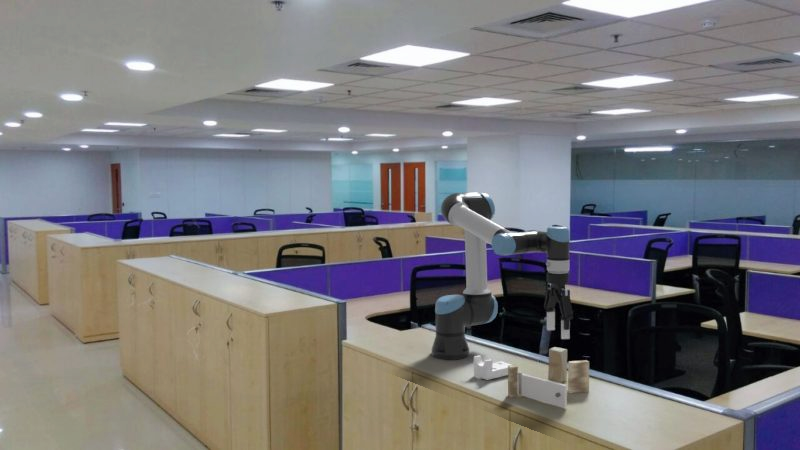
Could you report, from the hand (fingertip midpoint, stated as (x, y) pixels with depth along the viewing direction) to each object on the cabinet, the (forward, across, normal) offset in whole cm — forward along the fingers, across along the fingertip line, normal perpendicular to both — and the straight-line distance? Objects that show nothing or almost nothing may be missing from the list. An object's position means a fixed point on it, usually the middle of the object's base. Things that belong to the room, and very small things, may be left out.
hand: (557, 334), depth 210 cm
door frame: (+16, +12, -8) cm, 22 cm away
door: (+16, +19, -14) cm, 28 cm away
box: (+16, 0, 0) cm, 16 cm away
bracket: (+17, -9, -20) cm, 28 cm away
